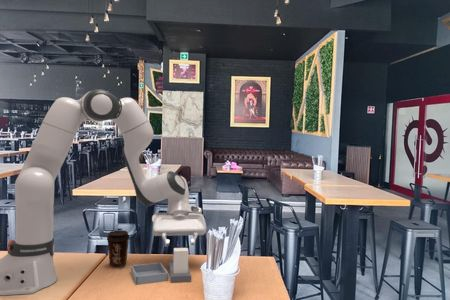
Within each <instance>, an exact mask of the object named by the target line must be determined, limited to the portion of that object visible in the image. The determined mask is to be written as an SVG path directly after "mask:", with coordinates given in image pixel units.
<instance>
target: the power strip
mask: <svg viewBox="0 0 450 300" xmlns="http://www.w3.org/2000/svg"><path fill="white" fill-rule="evenodd" d="M168 271H169V272H168V274H169V279H170V284H175V283H176V284H178V283H191V282H192V273H191V269H190V266H189V265H188V273H182V274H173V259H172V260H171V259H170V260H168Z"/></svg>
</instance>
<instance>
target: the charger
mask: <svg viewBox="0 0 450 300" xmlns="http://www.w3.org/2000/svg"><path fill="white" fill-rule="evenodd" d="M172 255H173V257H172V260H173V274H182V273H188V266H189V248H188V247H174V248H173V254H172Z"/></svg>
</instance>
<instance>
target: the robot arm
mask: <svg viewBox="0 0 450 300" xmlns="http://www.w3.org/2000/svg"><path fill="white" fill-rule="evenodd" d="M109 120H110V121H112V122H113V123H114V124H115V125H116V126H117V128H118V130H119V132H120V134H121V135H122V139H123V143H124V146H122V150H121V151H122V156H123V159H124V162H125V166H126V168H127V171H128V174H129V176H130V179H131V181H132V184H133V188H134V191H135V196H136V199H137V201H138V202H139V203H140V204H142V205H143V206H147V207H151V206H153V205H155V204H157V203H159V202H161V201H164V200H166V199H167V201H168V203H167V212H156V213H154V214H153V215H151V221H152V223H153V224H152V235H153V236H154V237H161V239H162V240H163V241H164V246H165V247H170V239H167V236H169V237H171V236H172V237H175V236H192V237H193V238H192V239H190V246H195V245H196V240H197V238H198V236H205V234H206V231H207V223H206V219H205V217H204V215H203V214H202V211H203V209H202V208H201V207H199V206H195V205H192V204H190V201H189V200H190V193H189V192H190V190H189V186H188V182H187V179H186V178H185V177H183V176H182V175H180V174H179V173H176V172H174V171H171V170H169V171H166V172H163V173H161V174H159V175H157V176H155V177H151V178H149V179H147V178H146V177H145V174H144V171H143V169H142V166H141V163H140V156H141V154H142V153H144V151H145V150H146V149H147V148H148V146H149V145H151V142H153V138H154V129H153V126H152V124H151V123H150V120H149V118H148V117H147V115H146V113H145V112H144V110H143V109H142V108H141V106H140V105H139V103H138V102H137V101H136V100H135V99H133V98H132V97H123V98H118V97H117V96H115V95H114V94H113V93H111V92H109V91H107V90H105V89H99V88H98V89H93V90H89V91H88V92H86V93H84V95H83V96H82V97H80V98H79V99H74V98H71V97H67V96H64V97H62V96H61V97H59V98H57V99H55V100H54V102H53V103H52V104H51V106H50V108H49V109H48V111H47V113H46V115H45V116H44V117H43V120H42V122H41V123H40V124H41V125H40V126H39V129H38V131H37V134H36V136H35V138H34V140H33V143H32V144H31V146H30V149H29V151H28V154H27V157H26V159H25V161H24V163H23V166H22V167H21V170H20V172H19V174H18V176H17V178H16V179H15V182H14V183H15V184H14V207H15V209H14V211H15V231H14V234H15V238H14V239H15V240H14V239H11V240H9V241H8V243H7V253H6V255H5V256H3V257H1V258H0V296H6V295H7V296H9V295H13V296H14V295H25V294H27V295H30V294H34V293H36V292H38V291H39V290H41V289H44V288H47V287H50V286H52V285H53V284H54V283H56V281H58V276H57V273H56V269H55V262H54V255H55V239H54V237H53V236H54V210H55V209H54V205H55V204H54V202H55V181H56V180H57V179H56V178H57V177H58V174H59V172H60V170H61V169H62V166H63V164H64V163H65V161H66V158H67V156H68V154H69V152H70V150H71V147H72V145H73V142H74V140H75V139H76V135H77V133H78V130H79V128H80V127H81V125H82V123H83V122H85V121H89V122H97V123H100V122H105V121H109Z"/></svg>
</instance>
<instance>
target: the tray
mask: <svg viewBox="0 0 450 300" xmlns="http://www.w3.org/2000/svg"><path fill="white" fill-rule="evenodd" d="M130 274H131V276H132V277H131V278H133V279H132V280H133V281H134V283H135V286H137V285H146V284H153V283H161V282H168V281H169V272H168V270H167V269H166V267H165V266H164V265H163V263H162V262H161V261H160V262H151V263H143V264H134V265H130Z"/></svg>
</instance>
